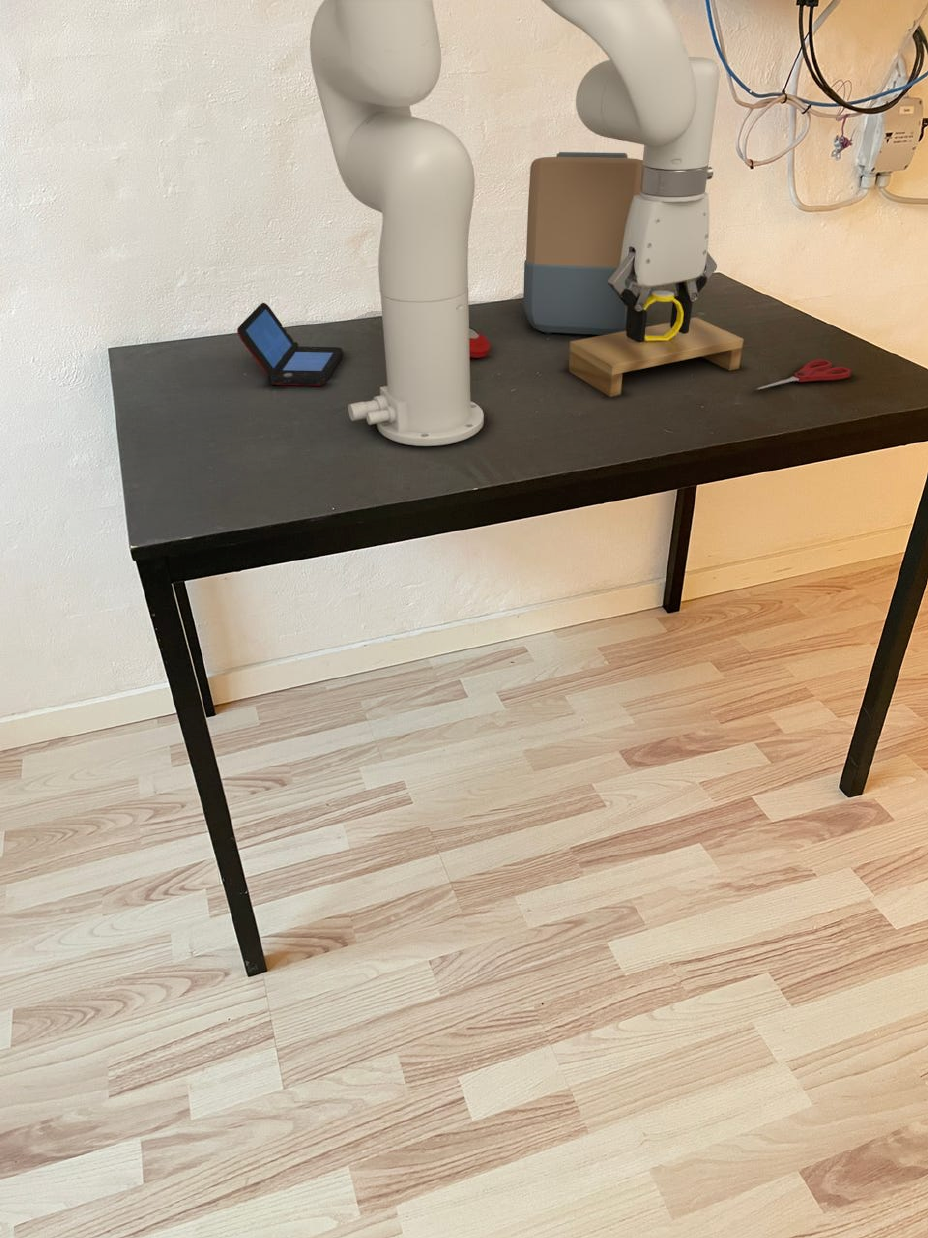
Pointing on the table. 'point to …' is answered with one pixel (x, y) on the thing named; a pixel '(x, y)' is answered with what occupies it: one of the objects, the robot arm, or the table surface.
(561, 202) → the brown blue rounded box
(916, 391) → the table surface
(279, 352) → the handheld game console
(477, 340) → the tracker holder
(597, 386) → the desk stand
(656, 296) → the watch
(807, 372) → the scissors
